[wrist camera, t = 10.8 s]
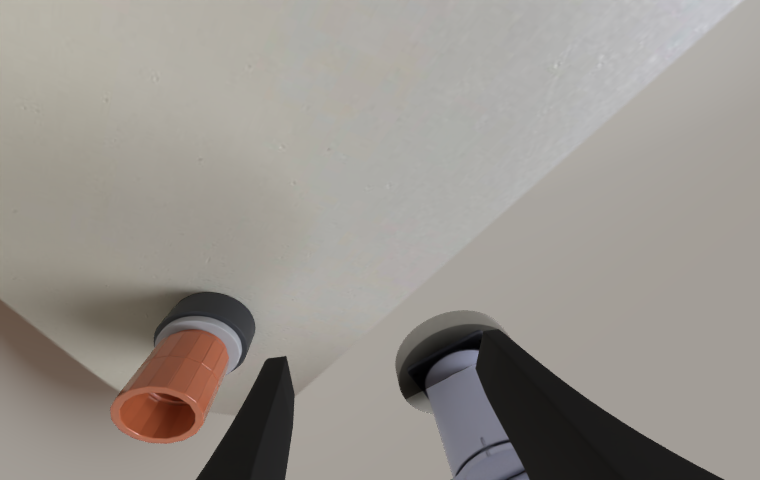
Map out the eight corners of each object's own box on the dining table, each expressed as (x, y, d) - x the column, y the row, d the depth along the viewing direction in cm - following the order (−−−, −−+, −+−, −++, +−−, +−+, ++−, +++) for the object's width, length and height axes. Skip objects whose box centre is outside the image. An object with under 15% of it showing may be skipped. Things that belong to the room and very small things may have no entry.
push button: (271, 331, 21) (263, 358, 19) (211, 366, 22) (196, 396, 19) (216, 278, 19) (199, 301, 17) (151, 318, 19) (126, 345, 17)
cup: (245, 356, 18) (221, 420, 15) (196, 384, 19) (159, 454, 15) (198, 314, 17) (156, 373, 13) (144, 346, 17) (89, 413, 14)
